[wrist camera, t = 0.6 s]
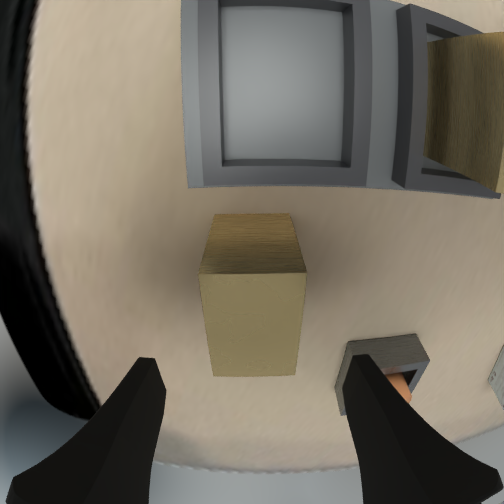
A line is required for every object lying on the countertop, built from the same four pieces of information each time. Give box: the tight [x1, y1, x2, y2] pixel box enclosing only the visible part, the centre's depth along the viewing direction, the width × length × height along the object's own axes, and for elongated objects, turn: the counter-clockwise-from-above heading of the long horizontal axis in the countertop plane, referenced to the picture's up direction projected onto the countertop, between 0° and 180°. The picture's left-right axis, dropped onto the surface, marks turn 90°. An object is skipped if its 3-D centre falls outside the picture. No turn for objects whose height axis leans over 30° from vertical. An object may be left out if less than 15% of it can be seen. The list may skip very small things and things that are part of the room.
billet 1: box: [198, 213, 307, 377], centre depth 15 cm, size 4×6×6 cm, turn 1°
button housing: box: [335, 334, 430, 416], centre depth 21 cm, size 6×6×3 cm
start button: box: [385, 372, 412, 404], centre depth 20 cm, size 4×4×3 cm
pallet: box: [181, 0, 501, 199], centre depth 12 cm, size 18×10×3 cm, turn 91°
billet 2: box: [423, 32, 504, 194], centre depth 9 cm, size 4×6×6 cm, turn 1°
